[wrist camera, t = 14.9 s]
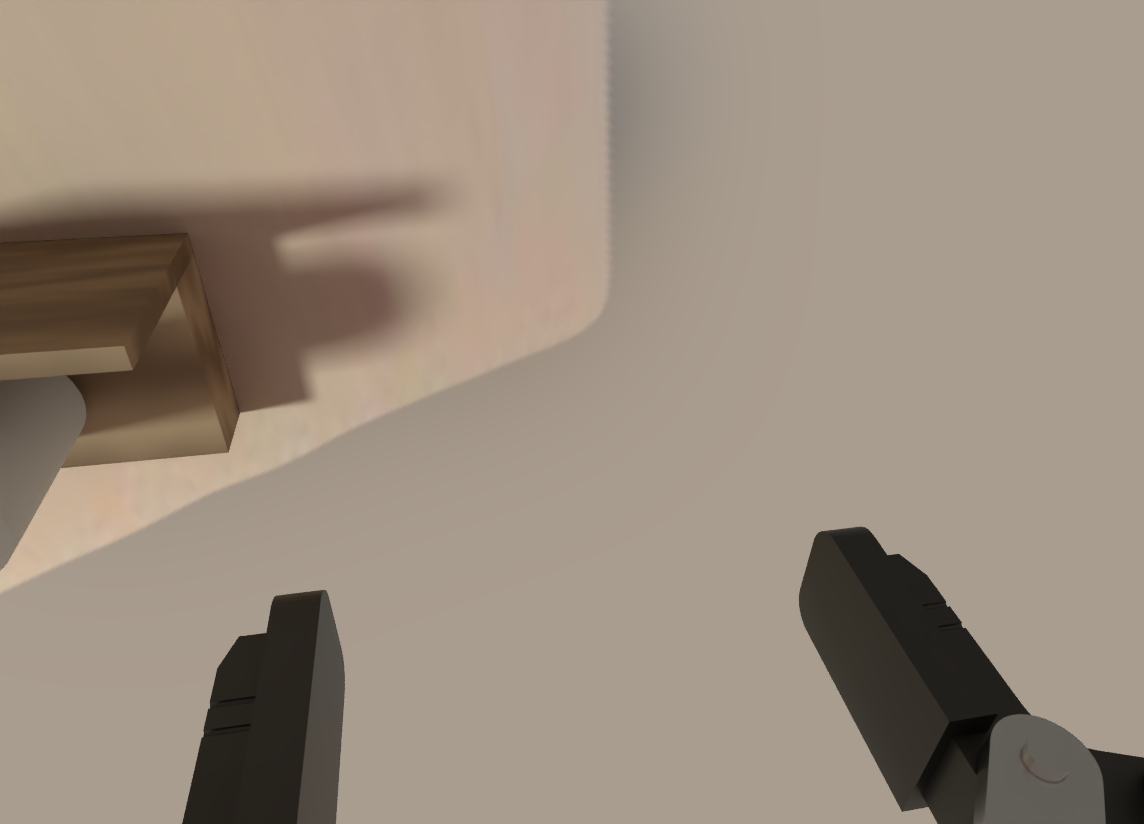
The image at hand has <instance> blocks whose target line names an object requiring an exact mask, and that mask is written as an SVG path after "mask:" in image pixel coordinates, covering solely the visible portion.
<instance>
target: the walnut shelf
mask: <svg viewBox="0 0 1144 824" xmlns="http://www.w3.org/2000/svg"><path fill="white" fill-rule="evenodd" d="M64 375H66V376H67V377H68V378H69V379H70V380H71V381H72V382H73V383H74V384H75V386H76V387H77V388H78V390H79V391H80V393H81V394H82V396H83V399H84V402H85V405H86V421H85V424H84V427H83V429H82V431H81V433H80V434H79V436H78V438H77V440H76V441H75V443H74V445H73V447H72V449H71V450H70V452H69V454H68V456H67V458H66V459H65V461H64V463H63V465H62V466H61V468H67V467H78V466H89V465H99V464H110V463H121V462H131V461H142V460H153V459H164V458H174V457H185V456H196V455H206V454H217V453H228V452H229V449H230V445H231V442H232V438H233V435H234V431H235V428H236V424H237V421H238V418H239V414H240V413H239V409H238V406H237V402H236V399H235V395H234V392H233V388H232V385H231V382H230V378H229V375H228V371H227V368H226V364H225V361H224V357H223V354H222V350H221V347H220V344H219V340H218V337H217V333H216V330H215V326H214V323H213V319H212V316H211V312H210V309H209V306H208V302H207V299H206V295H205V292H204V288H203V285H202V281H201V278H200V275H199V271H198V268H197V264H196V261H195V257H194V254H193V250H192V247H191V243H190V240H189V237H188V233H186V234H167V235H147V236H128V237H108V238H88V239H69V240H49V241H30V242H10V243H0V380H11V379H25V378H38V377H51V376H64Z"/></svg>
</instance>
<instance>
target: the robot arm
mask: <svg viewBox="0 0 1144 824" xmlns="http://www.w3.org/2000/svg"><path fill="white" fill-rule="evenodd" d="M799 607H800V612H801V617H802V620H803V623H804V626H805V628H806V630H807V632H808V634H809V636H810V638H811V640H812V642H813V643H814V645H815V647H816V649H817V651H818V653H819V655H820V657H821V659H822V660H823V662H824V664H825V666H826V668H827V670H828V672H829V674H830V676H831V678H832V680H833V681H834V683H835V685H836V687H837V689H838V691H839V693H840V695H841V697H842V699H843V700H844V702H845V704H846V706H847V708H848V710H849V712H850V714H851V716H852V717H853V719H854V721H855V723H856V725H857V727H858V729H859V731H860V733H861V734H862V736H863V738H864V740H865V742H866V744H867V746H868V748H869V750H870V752H871V754H872V755H873V757H874V759H875V761H876V763H877V765H878V767H879V769H880V771H881V773H882V774H883V776H884V778H885V780H886V782H887V784H888V786H889V788H890V790H891V791H892V793H893V795H894V797H895V799H896V801H897V803H898V805H899V806H900V809H901V810H902V812H903V811H908V810H914V809H919V808H924V807H929V809H930V810H931V812H932V814H933V816H934V818H935V819H936V821H937V824H1144V758H1142V757H1136V756H1129V755H1123V754H1117V753H1110V752H1104V751H1097V750H1093V749H1088V748H1086V747H1085V746H1084V745H1083V744H1082V742H1081V741H1080V740H1078V739H1077V738H1076V737H1075V736H1074V735H1073V734H1071V733H1070V732H1068V731H1067V730H1065V729H1064V728H1062V727H1061V726H1059V725H1057V724H1055V723H1053V722H1051V721H1048V720H1047V719H1044V718H1040V717H1037V716H1032V715H1031V714H1030V713H1028V711H1027V710H1026V709H1025V708H1024V706H1023V705H1022V704H1021V703H1020V701H1019V700H1018V698H1017V697H1016V696H1015V694H1014V693H1013V692H1012V690H1011V689H1010V688H1009V686H1008V685H1007V683H1006V682H1005V681H1004V679H1003V678H1002V677H1001V675H1000V674H999V673H998V671H997V670H996V668H995V667H994V666H993V664H992V663H991V662H990V660H989V659H988V658H987V656H986V655H985V654H984V652H983V651H982V649H981V648H980V647H979V645H978V644H977V643H976V641H975V640H974V639H973V637H972V636H971V635H970V633H969V632H968V630H967V629H966V628H963V627H962V625H961V623H962V622H961V621H960V620H959V618H958V617H957V615H956V614H955V613H954V611H953V610H952V609H951V607H950V606H949V607H947V605H946V601H945V599H944V598H943V596H942V595H941V594H940V592H939V591H938V590H937V588H936V587H935V586H934V584H933V583H932V582H931V580H930V579H929V577H928V576H927V575H926V574H925V573H923V572H922V571H921V570H919V569H918V568H917V567H915V566H914V565H913V564H911V563H910V562H909V561H908V560H906V559H905V558H904V557H902V556H901V555H900V554H895V555H887V554H886V553H885V551H884V550H883V548H882V547H881V545H880V544H879V542H878V541H877V540H876V538H875V537H874V535H873V534H872V533H871V532H870V531H869V530H868V529H867V528H865V527H854V528H846V529H838V530H829V531H821V532H819V533H818V534H817V535H816V537H815V539H814V542H813V546H812V549H811V553H810V556H809V560H808V563H807V567H806V570H805V574H804V577H803V581H802V585H801V588H800V593H799ZM344 691H345V674H344V661H343V655H342V649H341V645H340V641H339V637H338V633H337V629H336V624H335V620H334V617H333V612H332V609H331V604H330V600H329V597H328V593H327V591H326V590H319V591H311V592H303V593H295V594H286V595H279V596H275V597H274V599H273V601H272V605H271V610H270V616H269V622H268V628H267V633H264V634H255V635H247V636H240V637H238V639H237V640H236V642H235V643H234V645H233V646H232V648H231V649H230V651H229V652H228V654H227V655H226V657H225V658H224V660H223V661H222V662H221V664H220V665H219V667H218V668H217V673H216V677H215V682H214V686H213V690H212V695H211V699H210V709H208V712H207V717H206V722H205V726H204V737H203V738H202V739H201V743H200V748H199V752H198V757H197V761H196V765H195V770H194V774H193V779H192V783H191V788H190V792H189V796H188V801H187V805H186V810H185V814H184V818H183V823H182V824H336V811H337V796H338V782H339V767H340V752H341V737H342V722H343V707H344Z"/></svg>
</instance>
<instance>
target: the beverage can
mask: <svg viewBox="0 0 1144 824" xmlns="http://www.w3.org/2000/svg"><path fill="white" fill-rule="evenodd" d="M85 421H86V405H85V402H84V399H83V396H82V394H81V393H80V391H79V390H78V388H77V387H76V386H75V384H74V383H73V382H72V381H71V380H70V379H69V378H68V377H67V376H66V375H64V376H51V377H38V378H25V379H11V380H0V570H1V569H3V568H4V566H5V565H6V564H7V563H8V561H9V559H10V558H11V556H12V554H13V552H14V550H15V549H16V547H17V545H18V543H19V541H20V540H21V538H22V536H23V534H24V533H25V531H26V529H27V527H28V525H29V524H30V522H31V520H32V518H33V516H34V515H35V513H36V511H37V509H38V508H39V506H40V504H41V502H42V500H43V499H44V497H45V495H46V493H47V491H48V490H49V488H50V486H51V484H52V483H53V481H54V479H55V477H56V475H57V474H58V472H59V470H60V468H61V466H62V465H63V463H64V461H65V459H66V458H67V456H68V454H69V452H70V450H71V449H72V447H73V445H74V443H75V441H76V440H77V438H78V436H79V434H80V433H81V431H82V429H83V427H84V424H85Z"/></svg>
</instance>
